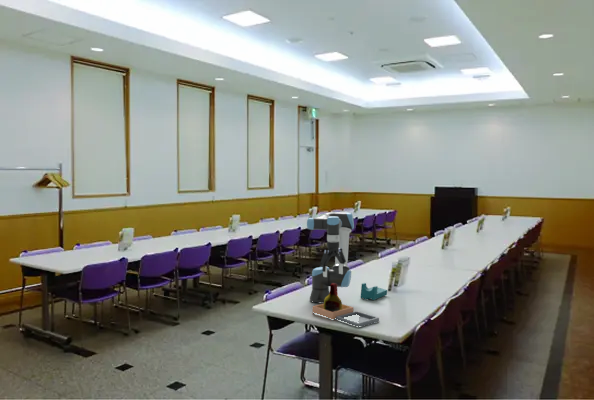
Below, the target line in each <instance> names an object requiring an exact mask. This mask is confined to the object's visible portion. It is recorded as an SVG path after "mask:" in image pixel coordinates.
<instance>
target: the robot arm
mask: <svg viewBox="0 0 594 400" xmlns="http://www.w3.org/2000/svg"><path fill="white" fill-rule="evenodd" d="M306 228H307V230H313V231H314V230H315V231H317V230H319V231H321V230H322V231H326V233H327V234H326V241H327V242H326V248H327V250H326V249H324V250H323V253H322V257H321V260H320V261H319V265H320V266H319V267H315V268H313V269H312V271H311V293H310V295H309V302H310V301H313V302H324V299H325V298H326V297H327V296H328V295H329V293H330V285H331V284H332V283H336V284H337V288H348V287H349V286H350V283H351V281H352V280H351V279H352V269H351V270H350V267H349V265H348V261H349V260H348V259H349V247H350V246H349V245H350V243H349V242H350V234H351V233H352V230H354V229H355V223H354V216H353V213H352V212H345V211H344V212H339V211H338V212H337V211H336V212H335V211H332V212H331V211H329V212H325V213H323V214H320V215H319V216H317V217H308V218H307V220H306ZM332 257H333V258H335V259H334V261H335V262H334V264H333V266H332V269H331V268H330V267H328V266H327V265H328V263H329V261H330V259H331V258H332ZM313 302H312V303H313Z"/></svg>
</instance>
